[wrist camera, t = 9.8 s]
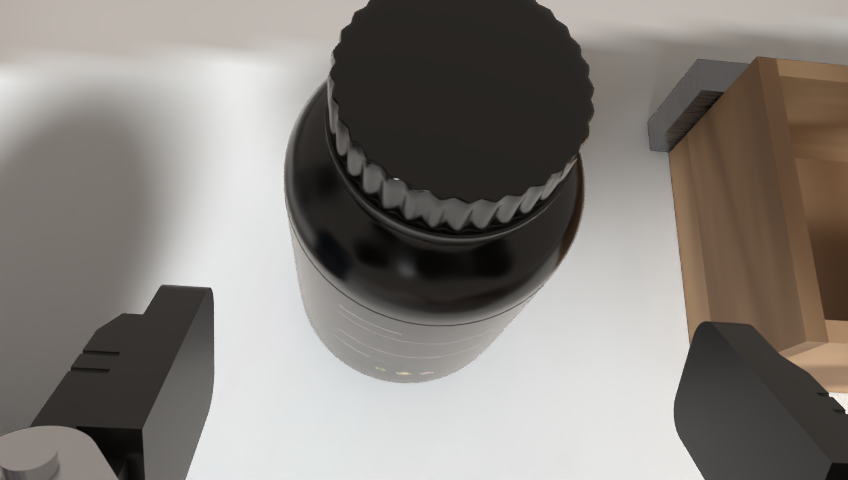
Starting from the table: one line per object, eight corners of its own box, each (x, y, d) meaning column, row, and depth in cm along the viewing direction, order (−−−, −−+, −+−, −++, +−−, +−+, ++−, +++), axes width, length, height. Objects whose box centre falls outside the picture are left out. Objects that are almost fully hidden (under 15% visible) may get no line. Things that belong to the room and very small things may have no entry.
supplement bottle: (309, 182, 25) (293, -100, 14) (505, 200, 25) (642, -54, 14) (286, 383, 22) (244, 238, 11) (505, 397, 23) (673, 273, 12)
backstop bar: (650, 149, 27) (701, 90, 23) (647, 122, 27) (697, 58, 24) (898, 171, 28) (985, 117, 24) (892, 144, 28) (976, 87, 25)
